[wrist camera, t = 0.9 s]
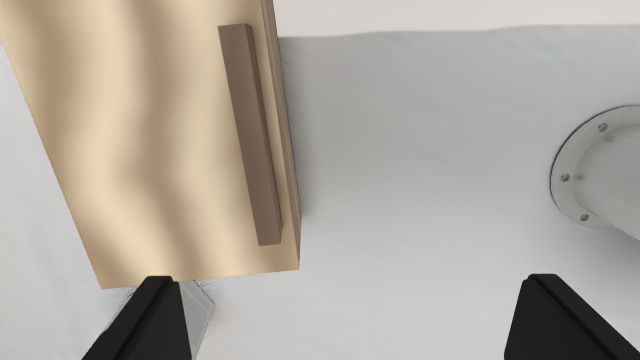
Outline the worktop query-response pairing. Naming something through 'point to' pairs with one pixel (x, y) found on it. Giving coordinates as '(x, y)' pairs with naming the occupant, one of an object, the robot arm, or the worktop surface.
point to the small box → (189, 313)
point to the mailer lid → (159, 132)
